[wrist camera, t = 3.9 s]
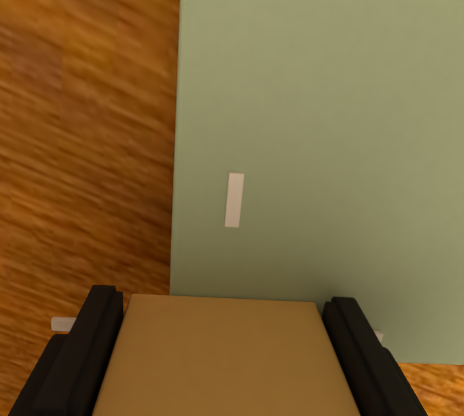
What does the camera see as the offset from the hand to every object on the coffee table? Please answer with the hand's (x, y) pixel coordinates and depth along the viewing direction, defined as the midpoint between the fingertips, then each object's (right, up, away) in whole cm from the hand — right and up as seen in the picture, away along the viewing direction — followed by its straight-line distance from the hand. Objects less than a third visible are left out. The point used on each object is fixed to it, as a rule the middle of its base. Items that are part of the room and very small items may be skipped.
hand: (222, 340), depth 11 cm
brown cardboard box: (0, 0, 0) cm, 0 cm away
